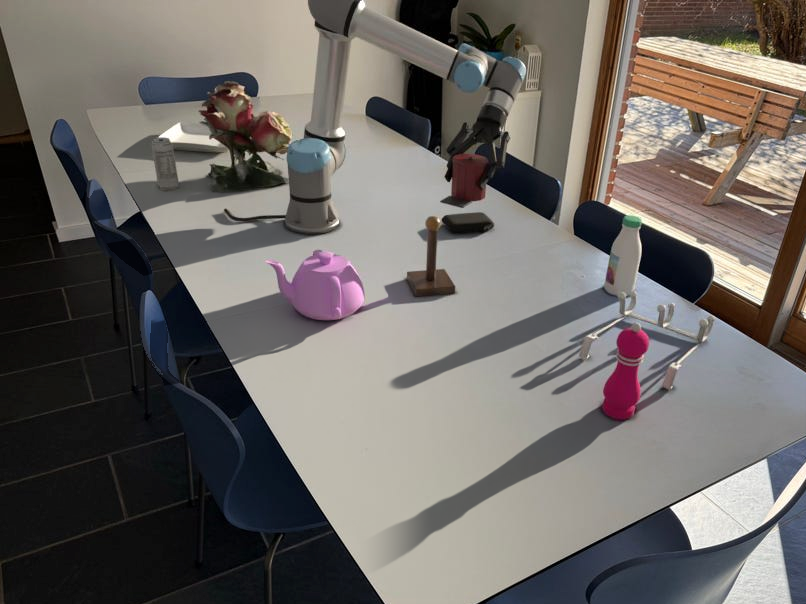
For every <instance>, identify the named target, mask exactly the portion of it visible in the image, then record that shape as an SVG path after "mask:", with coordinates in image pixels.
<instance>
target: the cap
mask: <svg viewBox="0 0 806 604" xmlns="http://www.w3.org/2000/svg"><path fill="white" fill-rule="evenodd" d="M487 164H489V159H488V158H487V157H485V156H483V155H480V154H475V153H464V154H459V155H455V156H454V157H453V170H452V179H451V191H450V193H451V194H450V195H448V196H446V197H444V198H443V199H441V200H440V201H439V203H441V204H445V205H449V206H452V207H456V208H461V209H463V208H466V207H467V206H469V205H471V204H472V203H473V202H480V201H482V200H484V199H485V198H486V191H487V185H486V186H485V188H484V190H483V191H482V190H480V188H479V186H478V184H479V182H480V179H481V177H482V175H483V172H484V170H485V168H486V166H487Z"/></svg>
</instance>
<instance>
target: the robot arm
mask: <svg viewBox="0 0 806 604" xmlns="http://www.w3.org/2000/svg"><path fill="white" fill-rule="evenodd" d="M307 6H308V11H309V13H310V15H311V17H312V18H313V20H314V28H315V30H316V31H317V32H318V45H317V54H316V65H315V75H314V85H313V93H312V106H311V116H310V121H309V122H307V123H305V125H304V130H303V131H304V132H303V138H299V139H297V140H294V141H291V144H290V145H288V146H287V147H288V149H287V152H286V164H287V175H288V187H289V189H288V190H289V202H288V206H287V209H286V213H285V214H273V215H272V214H270V215H269V214H268V215H266V214H265V215H257V216H250V217H238V216H234V215H232V213H231V212H230V211H229V210H228V208H224V209H223V211H224V213H225V214H226V215H227V216H228V218H230V219H231V220H233V221H236V222H250V221H257V220H271V219H273V220H275V219H277V220H278V219H284V221H285V222H284V224H285V227H286V228H287V229H288V230H290V231H291V232H294V233H297V234H305V235H321V234H326V233H330V232H332V231H334V230H336V229H338V227H339V226H340V217H339V214H338V212H337V209H336V207H335V204H334V201H333V196H332V195H333V194H332V177H333V175H334V174H335V173H336V172H337V170H339V169H340V168H341V167H342V165H343V164H344V162H345V159H346V155H347V146H346V142H345V139H346V131H345V130H344V128H343V127H342V120H343V112H344V103H345V95H346V87H347V79H348V71H349V63H350V56H351V55H350V54H351V48H352V41H353V40H354V39H355V38H357V39H360V40H362V41H364V42H366V43H368V44H370V45H372V46H374V47H377V48H379V49H381V50H383V51H385V52H388V53H389V54H391V55H394V56H395V57H398V58H400V59H402V60H405V61H406V62H408V63H411V64H413V65H415V66H417V67H419V68H422V69H423V70H426V71H427V72H429V73H432V74H434V75H436V76H438V77H440V78H442V79H445V80H446V81H449V82H451V83H452V84H454V85H456V87H457V88H458V90H460V91H462V92H464V93H469V94H470V93H474V92H476V91H478V90H479V89H480V88H482V86H484V87H486V88H488V92H487V94H486V96H485V98H484V101H483V103H482V106H481V108H480V109H479V113H478V115H477V117H476V121H475V122H474V123H473V124H468V122H466V121H465V122H463V123H462V125H461V128H460V130H459V131H458V133H457V134H456V136H455V137H454V138H453V139H452V141H451V142H450V144H448V146H447V147H446V149H445V152H446V154H447V156H448V157H449V158H448V161H447V163H446V168H447V170H446V172H445V174H444V179H445V181H446V182H447V183H451V182H452V170H453V157H454V156H455V155H459V154H466V152H468V151H469V149H470V148H472V147H473V146H475V145H477V144H478V143H479V144H484V145H488V152H489V153H488V155H489V163H490V164H489V163H488V164H487V166H486V168H485V170H484V172H483V175H482V177H481V179H480V182H479V184H478V186H479V188H480V190H482V191H483V190H484V188H485V186H486V187H487V183H488V181H489V180H492V179H493V177H494V174H495V172H496V170H497V169H500V170H503V169H504V168H505V165H506V164H505V163H506V156H507V149H508V145H509V142H510V140H511V135H510V134H509V133H510V132H509V131H507V130H505V131H502V130H503V129H504V127H505V124H506V123H507V119H508V117H509V115H510V113H511V110H512V108H513V105H514V103H515V101H516V99H517V97H518V94H519V92H520V90H521V88H522V85H523V84H524V79H525V77H526V74H527V67H526V65H525V64H524V62H523V61H521V60H520V59H519V58H516V57H512V56H505V57H503V59H502V60H498V59H496V58H494V57H492V56H491V55H489V54H487V53H485V52H483V51H481V50H480V49H478V48H476V47H475V46H472V45H469V44H467V43H461V44H460V46H459V47H458V49H455V48H453V47H451V46H449V45H447V44H445V43H443V42H441V41H439V40H436V39H435V38H433V37H431V36H428V35H426V34H424V33H422V32H421V31H418V30H416V29H414V28H412V27H411V26H410V27H409V26H408V25H406V24H404V23H402V22H400V21H397V20H395V19H393V18H391V17H389V16H387V15H384V14H383V13H380V12H378V11H376V10H374V9H372V8H370V7H368V6H367V5H366V0H307ZM471 131H472V132H471ZM499 138H500V141H499V142H500V143H499V149H498V157H497V155H496V154H497V153H496V143H495V141H496V140H498V139H499Z"/></svg>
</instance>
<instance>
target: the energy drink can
mask: <svg viewBox="0 0 806 604" xmlns="http://www.w3.org/2000/svg"><path fill="white" fill-rule="evenodd" d="M157 137H158V138H157ZM157 137H154V138H152V143H151V144H150V145H151V152H152V157H153V162H154V163H153V164H154V170H155V175H156V180H157V186H158V187H160V189H161V190H163V191H173V190H176V189H177V188H178V186H179V184H180V183H179V176H178V171H177V165H176V158H175V152H174V149H173V145H172V143H171V142H170V139H169V138H165V137H159V136H157Z"/></svg>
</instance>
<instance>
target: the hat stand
mask: <svg viewBox="0 0 806 604" xmlns="http://www.w3.org/2000/svg"><path fill="white" fill-rule="evenodd" d="M424 224H425V227H426V229H427V238H426V239H427V240H426V262H425V263H426V265H425V266H426V267H425V270H411V271H410V270H409V271H406V280H407V282H408V284H409V286H410V288H411V290H412V292H413V294H414V295H415V297H427V296H428V297H429V296H438V295H450V294H455V292H456V285H455V284H454V282H453V280H452V279H451V277H450V276H449V274H448V272H447V270H446V269H445V268H439V269H438V268H437V256H438V255H437V251H438V230H439V229H440V228H441V220H440V219H439V218H438V216H435V215H431V216H430V215H429V216H428V217H427V219H425V223H424Z"/></svg>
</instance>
